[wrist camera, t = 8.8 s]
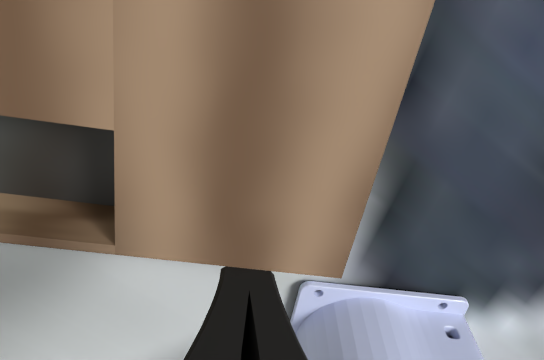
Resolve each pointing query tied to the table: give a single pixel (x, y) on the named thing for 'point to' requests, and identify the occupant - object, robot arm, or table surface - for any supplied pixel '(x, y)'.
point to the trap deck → (199, 125)
